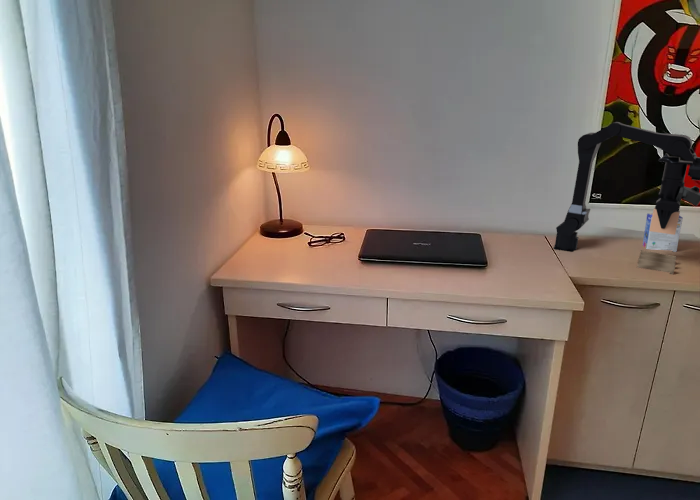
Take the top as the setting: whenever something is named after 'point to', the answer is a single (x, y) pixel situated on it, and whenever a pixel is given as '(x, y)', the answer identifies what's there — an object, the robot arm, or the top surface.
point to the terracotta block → (669, 227)
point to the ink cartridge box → (661, 237)
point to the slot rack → (656, 261)
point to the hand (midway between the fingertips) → (663, 227)
